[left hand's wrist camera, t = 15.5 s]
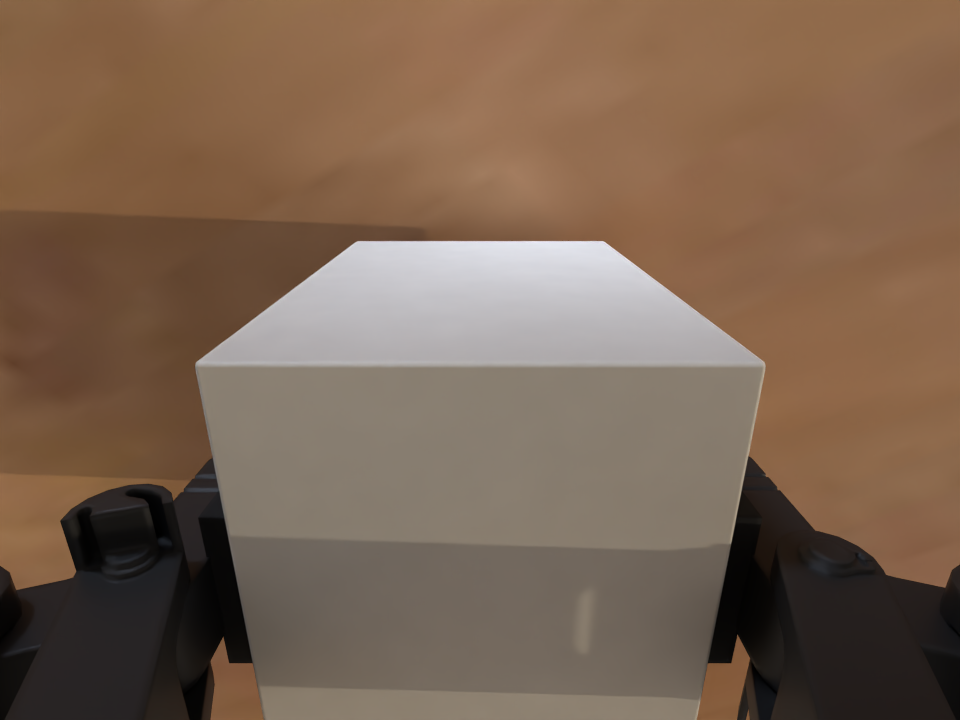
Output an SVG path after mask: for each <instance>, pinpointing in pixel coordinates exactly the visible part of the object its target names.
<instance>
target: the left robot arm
mask: <svg viewBox="0 0 960 720" xmlns="http://www.w3.org/2000/svg"><path fill="white" fill-rule="evenodd" d="M60 522H61V525H62V528H63V531H64V534H65V537H66V540H67V543H68V547H69V550H70V553H71V556H72V559H73V562H74V565H75V568H76V573H75V575H74V577H73V578H71V579H67V580H63V581H58V582H53V583H48V584H44V585H39V586H34V587H29V588H25V589H20V590H16V589H15V586H14V583H13V581H12V578H11V575H10V573H9V572H8V571H7V570H5V569H4V568H2V567H1V566H0V720H210V717H211V709H212V701H213V693H214V685H215V684H214V677H213V671H212V666H211V662H210V661H211V659H212V657H213V655H214V653H215V651H216V649H217V647H218V645H219V644H220V642H221V640H222V638H223V636H224V641H225V645H226V650H227V655H228V659H229V663H253V661H252V656H251V651H250V646H249V640H248V635H247V630H246V625H245V620H244V615H243V610H242V605H241V600H240V594H239V589H238V584H237V579H236V574H235V569H234V564H233V559H232V554H231V548H230V543H229V538H228V533H227V528H226V523H225V518H224V513H223V507H222V502H221V497H220V492H219V487H218V482H217V477H216V472H215V467H214V461H213V458H212V459H210V460H209V461H208V462H207V463H206V464H205V465H204V467H203V468H202V469H201V470H200V471H199V472H198V473H197V475H196V476H195V479H192V480H191V481H190V483H189V484H188V485H187V486H186V487H185V488H184V492H181V493H180V494H179V495H178V496H177V498H176V499H175V500H174V501H173V498H172V494H171V492H170V491H168V490H167V489H166V488H164V487H163V486H158V485H152V484H137V485H127V486H123V487H119V488H115V489H111V490H108V491H105V492H103V493H100V494H98V495H95V496H93V497H90V498H88V499H87V500H85V501H83V502H82V503H80V504H79V505H77V506H75V507H74V508H72V509H71V510H70V511H69V512H68V513H67V514H66V515H65V516H64V517H63V519H62V520H61V521H60ZM737 634H738V636H739V638H740V640H741V642H742V643H743V645H744V647H745V649H746V651H747V653H748V655H749V657H750V662H749V666H748V671H747V675H746V679H745V683H744V688H743V692H742V696H741V701H740V705H739V710H738V717H737V720H746V716H747V712H748V709H749V716H750V720H960V565H959V566H957V567H956V568H954V569H953V570H952V572H951V574H950V577H949V580H948V582H947V585H946V588H943V587H938V586H934V585H929V584H924V583H919V582H914V581H910V580H905V579H900V578H895V577H892V576H888V575H886V574H885V572H884V570H883V569H882V568H881V566H880V565H879V564H878V563H877V561H876V560H875V559H874V558H873V557H872V556H871V555H869V554H868V553H867V552H865V551H864V550H863V549H861V548H860V547H858V546H857V545H855V544H853V543H850V542H848V541H846V540H844V539H842V538H840V537H837V536H834V535H830V534H826V533H823V532H819V531H815V530H814V529H813V528H812V526H811V525H810V524H809V523H808V522H807V521H806V520H805V518H804V517H803V516H802V515H801V514H800V513H799V512H798V510H797V509H796V508H795V507H794V506H793V505H792V504H791V502H790V501H789V500H788V499H787V498H786V497H785V496H784V494H783V493H782V492H781V491H780V490H777V486H776V485H775V484H774V483H773V482H772V481H771V480H770V478H769V477H766V474H765V473H764V472H763V470H762V469H761V468H760V467H759V466H758V465H757V464H756V462H755V461H754V460H753V459H752V458H750V457H749V456H748V460H747V465H746V470H745V475H744V481H743V486H742V491H741V496H740V501H739V506H738V511H737V516H736V521H735V526H734V532H733V537H732V542H731V547H730V552H729V557H728V562H727V567H726V572H725V578H724V583H723V588H722V593H721V598H720V603H719V608H718V613H717V618H716V623H715V629H714V634H713V639H712V644H711V649H710V654H709V659H708V663H731V662H732V657H733V652H734V648H735V643H736V638H737Z"/></svg>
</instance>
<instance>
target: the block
mask: <svg viewBox="0 0 960 720" xmlns="http://www.w3.org/2000/svg"><path fill="white" fill-rule="evenodd" d="M765 368H766V367H765V362H764V361H762V360H761V359H760V358H758V357H757V356H756V355H754V354H753V353H752V352H750V351H749V350H748V349H746V348H745V347H744V346H742V345H741V344H740V343H738V342H737V341H736V340H734V339H733V338H732V337H730V336H729V335H728V334H726V333H725V332H724V331H722V330H721V329H720V328H718V327H717V326H716V325H714V324H713V323H712V322H710V321H709V320H708V319H706V318H705V317H704V316H702V315H701V314H700V313H698V312H697V311H696V310H694V309H693V308H692V307H691V306H689V305H688V304H687V303H685V302H684V301H683V300H681V299H680V298H679V297H677V296H676V295H675V294H673V293H672V292H671V291H669V290H668V289H667V288H665V287H664V286H663V285H661V284H660V283H659V282H657V281H656V280H655V279H653V278H652V277H651V276H649V275H648V274H647V273H645V272H644V271H643V270H641V269H640V268H639V267H637V266H636V265H635V264H633V263H632V262H631V261H629V260H628V259H627V258H625V257H624V256H623V255H621V254H620V253H619V252H617V251H616V250H615V249H613V248H612V247H611V246H609V245H608V244H607V243H605V242H603V241H357V242H355V243H354V244H352V245H351V246H350V247H348V248H347V249H346V250H344V251H343V252H342V253H340V254H339V255H338V256H336V257H335V258H334V259H332V260H331V261H330V262H329V263H327V264H326V265H325V266H323V267H322V268H321V269H319V270H318V271H317V272H315V273H314V274H313V275H311V276H310V277H309V278H307V279H306V280H305V281H303V282H302V283H301V284H299V285H298V286H297V287H295V288H294V289H293V290H291V291H290V292H289V293H287V294H286V295H285V296H283V297H282V298H281V299H279V300H278V301H277V302H275V303H274V304H273V305H271V306H270V307H269V308H267V309H266V310H265V311H263V312H262V313H261V314H259V315H258V316H257V317H255V318H254V319H253V320H252V321H250V322H249V323H248V324H246V325H245V326H244V327H242V328H241V329H240V330H238V331H237V332H236V333H234V334H233V335H232V336H230V337H229V338H228V339H226V340H225V341H224V342H222V343H221V344H220V345H218V346H217V347H216V348H214V349H213V350H212V351H210V352H209V353H208V354H206V355H205V356H204V357H202V358H201V359H200V360H198V361H197V362H196V365H195V369H196V374H197V380H198V385H199V390H200V395H201V400H202V405H203V410H204V415H205V421H206V426H207V431H208V436H209V441H210V446H211V451H212V456H213V461H214V467H215V472H216V477H217V482H218V487H219V492H220V497H221V502H222V507H223V513H224V518H225V523H226V528H227V533H228V538H229V543H230V548H231V554H232V559H233V564H234V569H235V574H236V579H237V584H238V589H239V594H240V600H241V605H242V610H243V615H244V620H245V625H246V630H247V635H248V640H249V646H250V651H251V656H252V661H253V666H254V671H255V676H256V681H257V687H258V692H259V697H260V702H261V707H262V712H263V717H264V720H697V715H698V710H699V705H700V700H701V695H702V690H703V685H704V680H705V674H706V669H707V664H708V659H709V654H710V649H711V644H712V639H713V634H714V629H715V623H716V618H717V613H718V608H719V603H720V598H721V593H722V588H723V583H724V578H725V572H726V567H727V562H728V557H729V552H730V547H731V542H732V537H733V532H734V526H735V521H736V516H737V511H738V506H739V501H740V496H741V491H742V486H743V481H744V475H745V470H746V465H747V460H748V455H749V450H750V445H751V440H752V435H753V430H754V424H755V419H756V414H757V409H758V404H759V399H760V394H761V389H762V384H763V379H764V373H765Z"/></svg>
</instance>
